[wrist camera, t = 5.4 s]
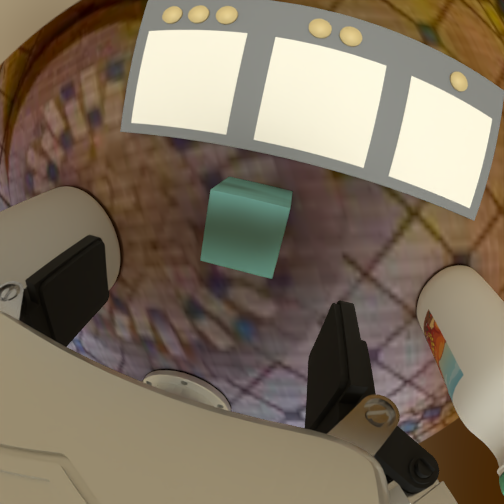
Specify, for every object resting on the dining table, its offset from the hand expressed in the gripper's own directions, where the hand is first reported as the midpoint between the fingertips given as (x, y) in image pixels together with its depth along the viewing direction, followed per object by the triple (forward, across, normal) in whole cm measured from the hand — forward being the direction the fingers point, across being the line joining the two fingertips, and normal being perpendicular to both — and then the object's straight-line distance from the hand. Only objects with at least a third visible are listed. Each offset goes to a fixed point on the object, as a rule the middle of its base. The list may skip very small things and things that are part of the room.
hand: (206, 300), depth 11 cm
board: (+13, -3, -10) cm, 17 cm away
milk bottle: (+13, -20, +4) cm, 24 cm away
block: (+13, 0, +1) cm, 13 cm away
